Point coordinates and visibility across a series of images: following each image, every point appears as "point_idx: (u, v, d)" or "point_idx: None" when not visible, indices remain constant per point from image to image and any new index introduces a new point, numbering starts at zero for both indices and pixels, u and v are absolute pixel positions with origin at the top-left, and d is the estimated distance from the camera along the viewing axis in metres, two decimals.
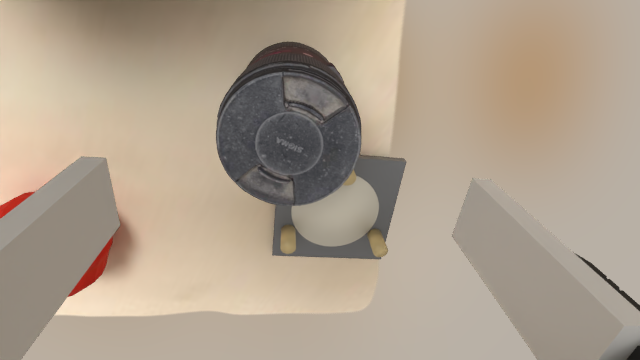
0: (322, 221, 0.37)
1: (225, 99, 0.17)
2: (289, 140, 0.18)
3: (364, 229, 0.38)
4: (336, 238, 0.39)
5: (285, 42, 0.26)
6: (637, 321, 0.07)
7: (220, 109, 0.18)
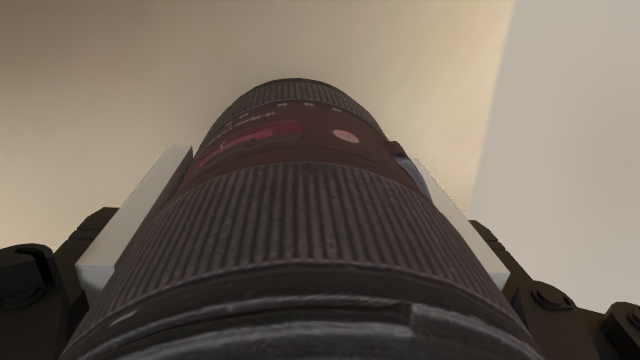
0: None
1: None
2: None
3: None
4: None
5: (285, 85, 0.12)
6: (495, 269, 0.08)
7: None
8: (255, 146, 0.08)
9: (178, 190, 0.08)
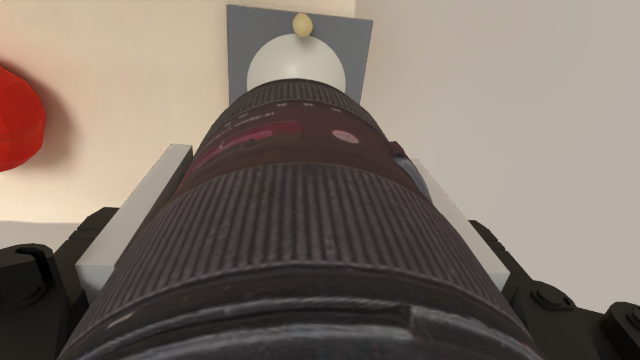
0: None
1: None
2: None
3: None
4: None
5: (285, 85, 0.12)
6: (495, 269, 0.08)
7: None
8: (254, 146, 0.07)
9: (177, 191, 0.08)
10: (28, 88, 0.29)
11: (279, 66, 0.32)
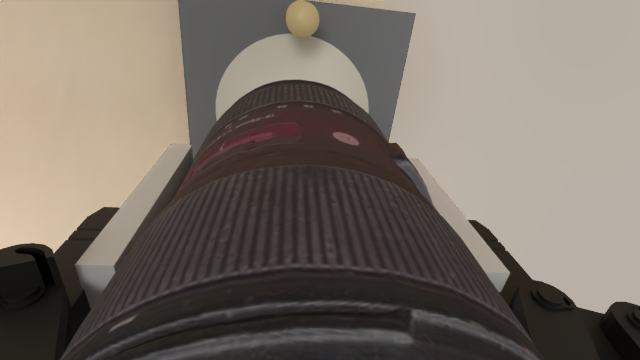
0: None
1: None
2: None
3: None
4: None
5: (285, 86, 0.12)
6: (495, 269, 0.08)
7: None
8: (255, 148, 0.07)
9: (178, 192, 0.08)
10: None
11: None
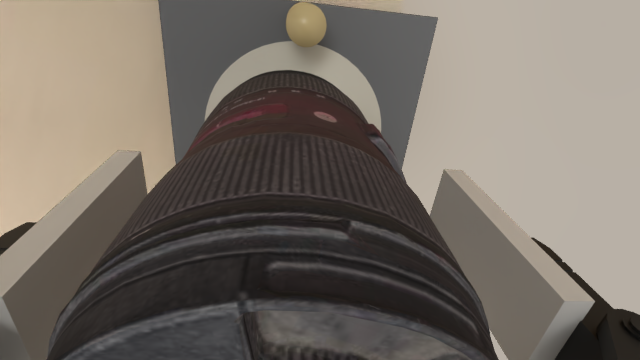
0: None
1: (55, 335, 0.05)
2: None
3: None
4: None
5: (277, 75, 0.13)
6: (578, 297, 0.08)
7: (48, 356, 0.05)
8: (246, 123, 0.09)
9: None
10: None
11: None
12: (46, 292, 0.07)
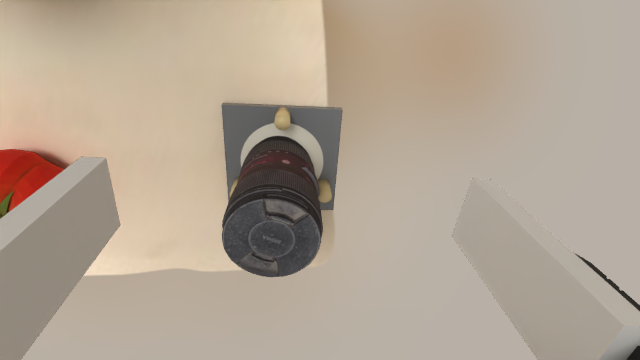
0: None
1: (227, 212, 0.26)
2: (271, 236, 0.26)
3: None
4: None
5: (271, 142, 0.34)
6: (637, 321, 0.07)
7: (224, 218, 0.26)
8: (261, 165, 0.30)
9: (241, 177, 0.30)
10: None
11: None
12: None
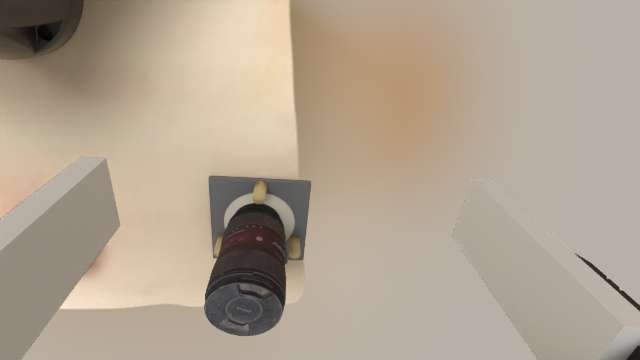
0: None
1: (209, 288, 0.33)
2: (243, 307, 0.33)
3: None
4: None
5: (249, 215, 0.41)
6: (637, 321, 0.07)
7: (206, 292, 0.33)
8: (238, 242, 0.37)
9: (222, 251, 0.37)
10: None
11: None
12: None
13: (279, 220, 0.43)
